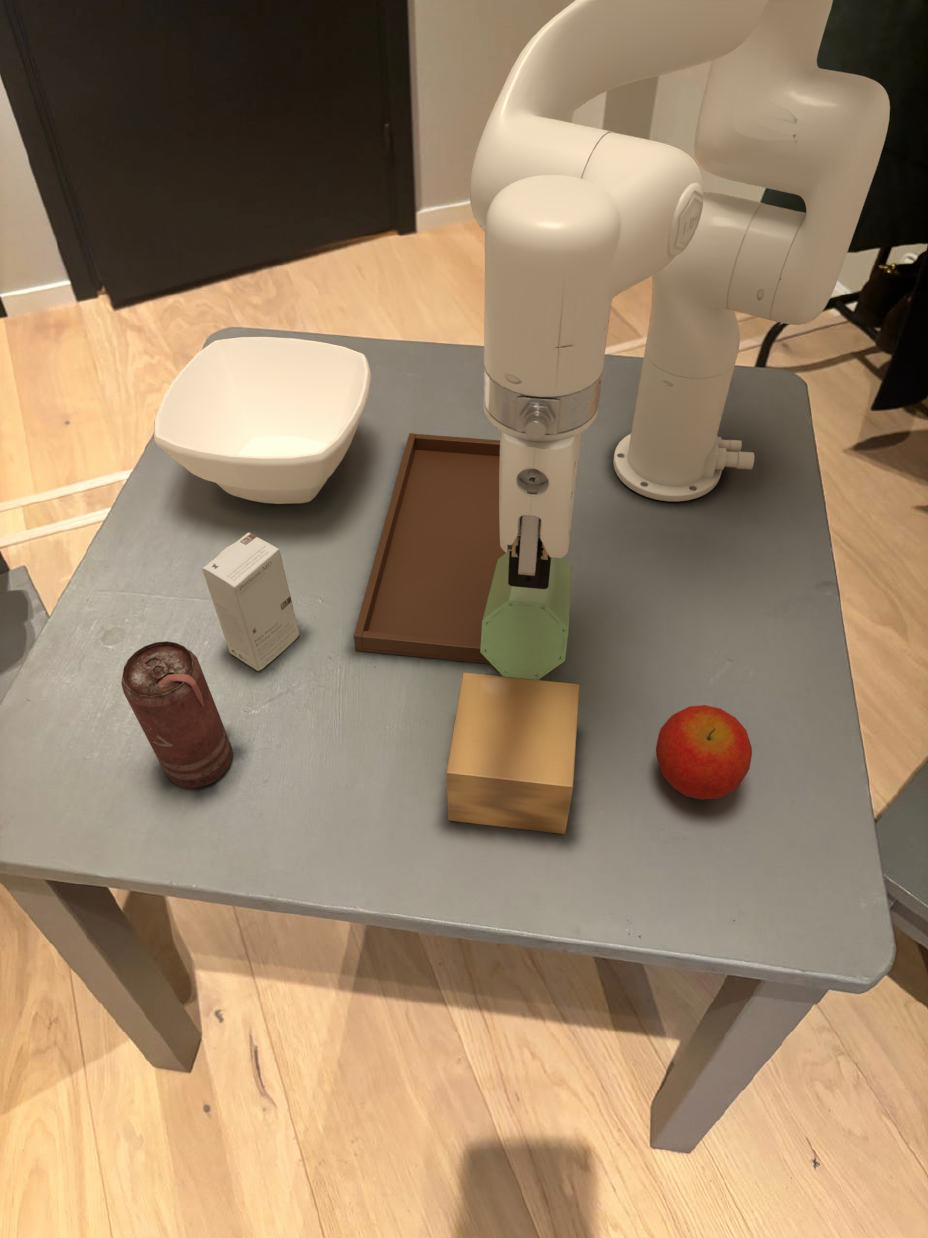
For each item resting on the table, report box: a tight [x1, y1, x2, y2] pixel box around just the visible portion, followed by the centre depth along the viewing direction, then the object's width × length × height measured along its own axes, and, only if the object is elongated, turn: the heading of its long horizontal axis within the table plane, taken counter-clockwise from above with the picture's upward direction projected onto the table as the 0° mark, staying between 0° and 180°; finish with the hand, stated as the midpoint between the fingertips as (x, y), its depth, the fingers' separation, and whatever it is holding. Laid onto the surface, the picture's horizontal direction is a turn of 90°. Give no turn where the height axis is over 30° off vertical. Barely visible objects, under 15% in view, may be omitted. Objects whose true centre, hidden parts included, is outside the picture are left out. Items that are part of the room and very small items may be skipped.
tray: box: [353, 433, 506, 665], centre depth 97 cm, size 18×32×2 cm, turn 172°
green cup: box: [480, 551, 573, 680], centre depth 81 cm, size 7×7×14 cm
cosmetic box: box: [201, 532, 300, 672], centre depth 85 cm, size 6×4×12 cm
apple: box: [655, 704, 753, 800], centre depth 76 cm, size 8×8×8 cm
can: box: [121, 640, 233, 789], centre depth 76 cm, size 6×6×14 cm
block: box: [445, 672, 580, 835], centre depth 77 cm, size 10×10×8 cm
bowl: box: [153, 336, 372, 505], centre depth 102 cm, size 22×22×12 cm
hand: (528, 580), depth 72 cm, fingers closed
